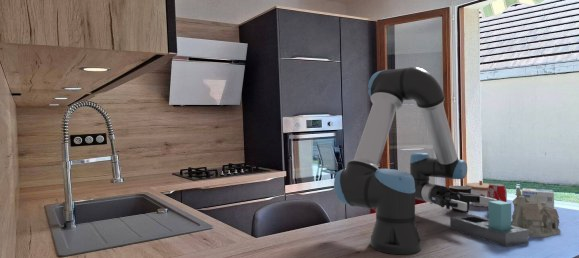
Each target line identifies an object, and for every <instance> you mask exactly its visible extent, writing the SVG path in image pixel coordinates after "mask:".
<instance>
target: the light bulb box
mask: <svg viewBox="0 0 579 258" xmlns="http://www.w3.org/2000/svg"><path fill="white" fill-rule="evenodd" d="M521 195H523V196H525V197H526V199H527V200H529V201H530V203H538V205H539V206H541V202H545V203H546V208H548V209H555V192H554V189H540V188H539V189H538V188H522V189H521Z"/></svg>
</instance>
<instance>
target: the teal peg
mask: <svg viewBox="0 0 579 258" xmlns="http://www.w3.org/2000/svg"><path fill="white" fill-rule="evenodd" d="M487 212H488V219H489V227H491V228H494V229H497V230H501V231H503V230H509V229H511V221H512V203H511V202H503V201H491V202H488V208H487Z"/></svg>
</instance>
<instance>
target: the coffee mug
mask: <svg viewBox="0 0 579 258" xmlns="http://www.w3.org/2000/svg"><path fill="white" fill-rule="evenodd" d="M448 189H449V190H450V192H455V193H458V192H461V193H468V194H471V187H467V186H466V185H449V187H448ZM458 201H460V199H458ZM465 203H467V211H463V210H459V209H455V208H452V207H451V210H452V212H455V213H468V212H469V209H470V203H471V202H465Z"/></svg>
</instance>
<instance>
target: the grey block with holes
mask: <svg viewBox="0 0 579 258" xmlns="http://www.w3.org/2000/svg"><path fill="white" fill-rule="evenodd" d="M449 219H450V221H449V223H450V224H449V228H450V229H451V230H455V231H457V232H460V233H463V234H466V235H469V236H472V237H475V238H477V239H481V240H484V241H488V242H489V243H493V244H496V245H498V246H502V247H505V248H506V247H512V246H517V245H523V244H529V237H528V230H527V229H523V228H519V227H516V226H512V225H511V229H509V230H503V231H501V230H497V229H494V228H491V227H489V218H486V217H481V216H479V215H475V214H472V213H471V214H465V215H464V214H463V215H457V216H450V218H449Z"/></svg>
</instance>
